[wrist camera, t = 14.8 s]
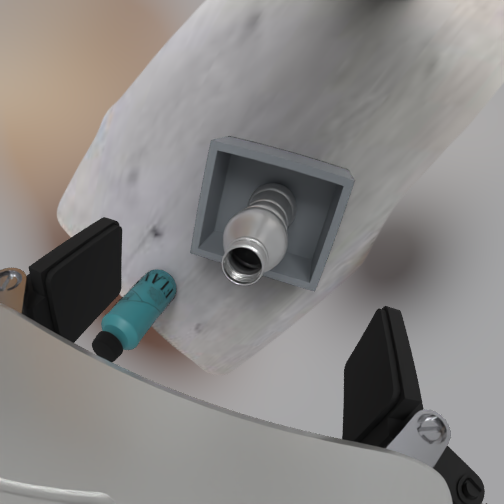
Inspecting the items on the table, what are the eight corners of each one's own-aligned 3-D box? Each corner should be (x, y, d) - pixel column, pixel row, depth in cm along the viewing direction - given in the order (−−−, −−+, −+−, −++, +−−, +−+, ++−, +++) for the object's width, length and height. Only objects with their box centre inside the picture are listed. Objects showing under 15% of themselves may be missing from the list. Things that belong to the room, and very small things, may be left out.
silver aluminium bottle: (245, 216, 46) (196, 285, 28) (260, 172, 43) (215, 215, 25) (288, 232, 45) (265, 312, 27) (304, 189, 42) (294, 245, 24)
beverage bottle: (188, 282, 54) (131, 359, 36) (168, 303, 56) (112, 377, 38) (159, 256, 53) (92, 323, 35) (141, 279, 55) (77, 346, 37)
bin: (229, 136, 42) (211, 140, 35) (348, 169, 41) (354, 180, 34) (209, 232, 49) (190, 252, 42) (316, 264, 48) (314, 291, 40)
